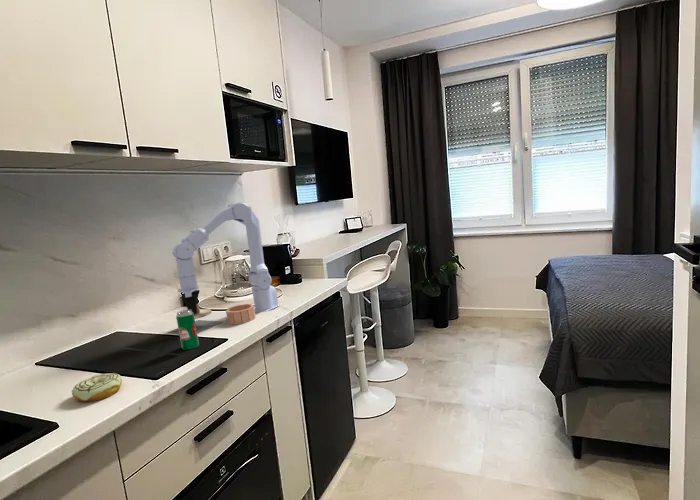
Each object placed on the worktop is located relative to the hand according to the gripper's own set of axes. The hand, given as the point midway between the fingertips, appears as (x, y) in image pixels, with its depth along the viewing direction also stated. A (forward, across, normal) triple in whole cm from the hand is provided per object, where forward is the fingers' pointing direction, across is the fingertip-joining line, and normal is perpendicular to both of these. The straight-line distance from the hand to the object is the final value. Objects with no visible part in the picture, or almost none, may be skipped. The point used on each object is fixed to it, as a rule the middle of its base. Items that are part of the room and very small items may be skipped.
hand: (193, 312), depth 146 cm
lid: (+1, 0, 0) cm, 1 cm away
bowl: (+6, +2, +16) cm, 17 cm away
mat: (+6, 0, 0) cm, 6 cm away
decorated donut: (+6, +44, -20) cm, 49 cm away
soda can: (+6, +23, 0) cm, 24 cm away
